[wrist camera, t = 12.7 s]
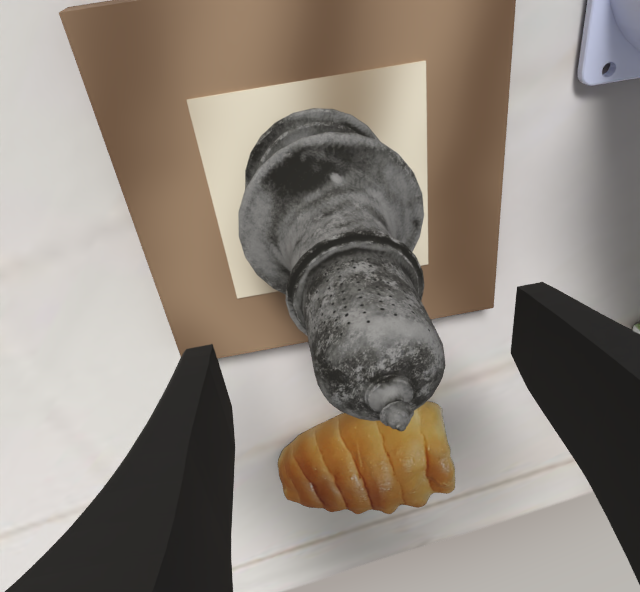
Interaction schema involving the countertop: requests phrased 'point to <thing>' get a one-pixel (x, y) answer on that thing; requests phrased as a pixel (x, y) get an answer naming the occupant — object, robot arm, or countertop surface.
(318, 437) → the pastry
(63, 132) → the countertop surface
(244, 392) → the countertop surface
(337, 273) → the salt shaker
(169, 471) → the robot arm
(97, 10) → the walnut board
